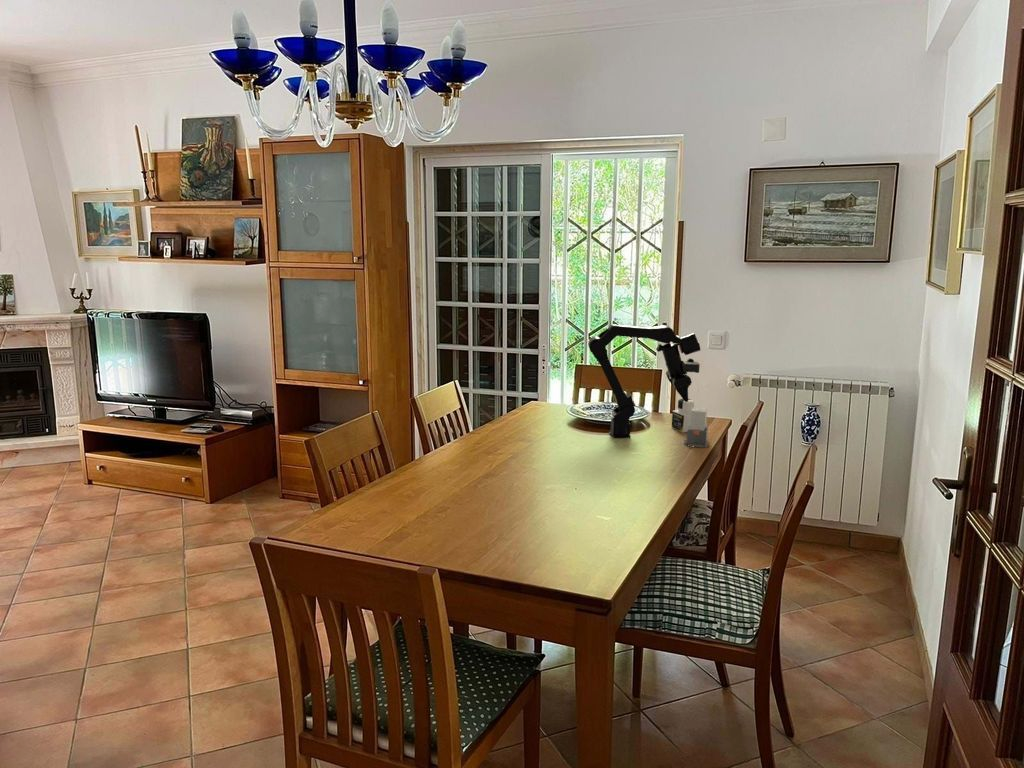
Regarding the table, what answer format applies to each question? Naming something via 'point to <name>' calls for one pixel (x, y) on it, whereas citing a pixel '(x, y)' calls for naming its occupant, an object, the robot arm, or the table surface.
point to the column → (698, 419)
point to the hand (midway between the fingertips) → (684, 398)
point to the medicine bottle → (682, 415)
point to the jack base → (697, 438)
